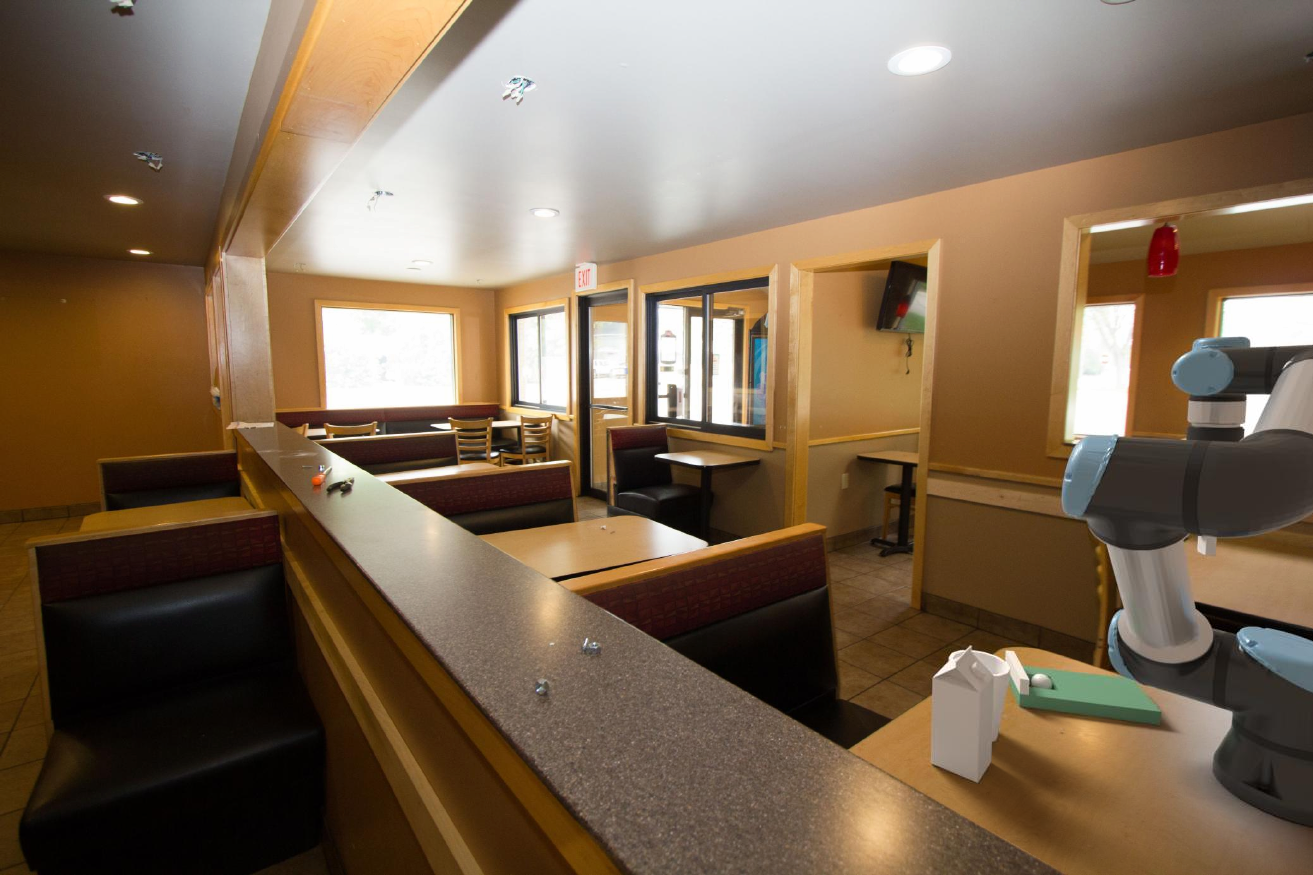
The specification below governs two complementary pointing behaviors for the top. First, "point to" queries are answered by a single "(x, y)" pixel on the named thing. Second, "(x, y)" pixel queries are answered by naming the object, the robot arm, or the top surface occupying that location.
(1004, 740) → the top surface
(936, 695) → the milk carton
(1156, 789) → the top surface
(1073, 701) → the putting board
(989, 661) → the foam cup
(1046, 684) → the golf ball
